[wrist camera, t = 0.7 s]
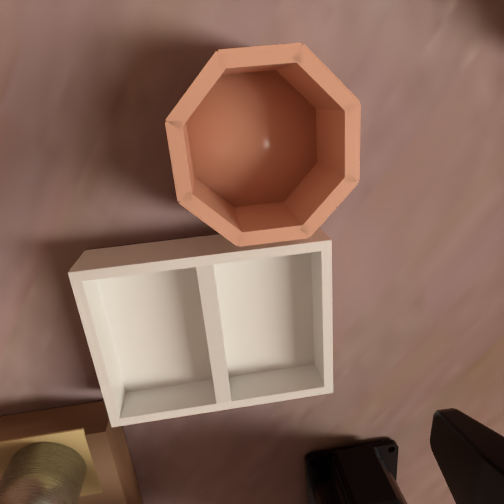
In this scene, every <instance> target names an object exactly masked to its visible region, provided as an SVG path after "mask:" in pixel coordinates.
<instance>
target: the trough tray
mask: <svg viewBox="0 0 504 504" xmlns="http://www.w3.org/2000/svg"><path fill="white" fill-rule="evenodd" d="M68 275H69V279H70V282H71V286H72V290H73V293H74V297H75V300H76V304H77V307H78V311H79V314H80V318H81V321H82V325H83V328H84V332H85V335H86V339H87V342H88V346H89V349H90V353H91V356H92V360H93V363H94V367H95V370H96V374H97V377H98V381H99V384H100V388H101V391H102V395H103V399H104V402H105V406H106V409H107V413H108V416H109V420H110V423H111V427H118V426H125V425H131V424H137V423H144V422H150V421H157V420H163V419H169V418H176V417H182V416H188V415H195V414H201V413H208V412H214V411H220V410H227V409H233V408H239V407H246V406H252V405H259V404H265V403H271V402H278V401H284V400H290V399H297V398H303V397H310V396H316V395H322V394H329V393H333V328H332V240H331V239H330V238H329V237H328V236H327V235H326V233H325V232H324V231H323V230H322V229H321V228H320V227H319V228H318V229H317V230H316V231H315V232H314V233H313V235H312V236H311V237H309V236H308V238H307V239H299V240H291V241H283V242H275V243H267V244H258V245H250V246H242V247H239V246H236V245H234V244H233V243H232V242H230V241H229V240H228V239H226V238H225V237H223V236H222V235H221V234H217V235H208V236H200V237H192V238H183V239H175V240H167V241H158V242H150V243H142V244H133V245H125V246H117V247H108V248H100V249H92V250H85V251H84V252H83V254H82V255H81V256H80V257H79V259H78V260H77V261H76V263H75V264H74V265H73V266H72V268H71V269H70V270H69V272H68Z"/></svg>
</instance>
